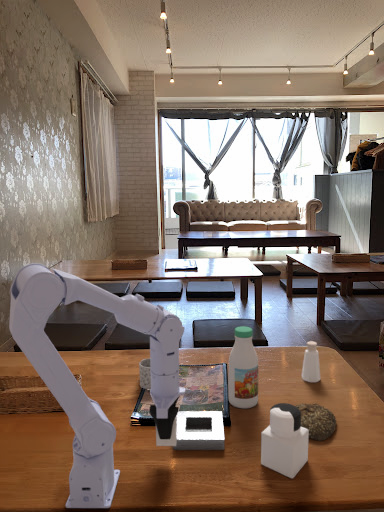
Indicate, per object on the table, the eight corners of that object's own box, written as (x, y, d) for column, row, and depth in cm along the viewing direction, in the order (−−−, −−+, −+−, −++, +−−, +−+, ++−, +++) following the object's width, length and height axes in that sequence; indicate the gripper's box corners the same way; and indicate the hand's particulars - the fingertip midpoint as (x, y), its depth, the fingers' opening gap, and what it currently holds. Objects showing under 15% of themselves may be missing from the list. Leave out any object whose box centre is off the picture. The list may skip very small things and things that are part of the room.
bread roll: (321, 447, 88) (322, 426, 88) (272, 425, 97) (272, 406, 96) (346, 423, 98) (347, 403, 97) (299, 404, 106) (300, 386, 105)
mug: (166, 387, 116) (166, 365, 115) (144, 392, 113) (143, 369, 112) (154, 373, 125) (153, 352, 123) (133, 377, 122) (132, 356, 121)
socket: (224, 449, 88) (224, 439, 87) (173, 449, 88) (172, 439, 88) (221, 420, 98) (221, 411, 98) (176, 421, 99) (176, 411, 98)
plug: (176, 446, 82) (175, 417, 81) (156, 445, 82) (155, 417, 81) (177, 434, 86) (176, 406, 85) (158, 434, 86) (157, 406, 85)
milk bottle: (223, 405, 106) (223, 331, 102) (234, 391, 112) (235, 322, 109) (252, 412, 102) (252, 336, 99) (262, 398, 109) (262, 326, 105)
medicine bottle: (276, 447, 88) (277, 395, 86) (308, 460, 84) (310, 406, 82) (260, 464, 83) (260, 410, 81) (292, 480, 78) (294, 422, 76)
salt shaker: (324, 380, 118) (325, 344, 116) (308, 384, 116) (310, 347, 114) (312, 372, 123) (313, 338, 121) (297, 376, 121) (298, 340, 119)
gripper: (183, 386, 74) (184, 454, 77) (186, 354, 89) (186, 412, 91) (144, 386, 75) (146, 454, 77) (153, 354, 89) (155, 412, 91)
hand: (166, 431), depth 84 cm, fingers closed on plug, 4 cm apart
